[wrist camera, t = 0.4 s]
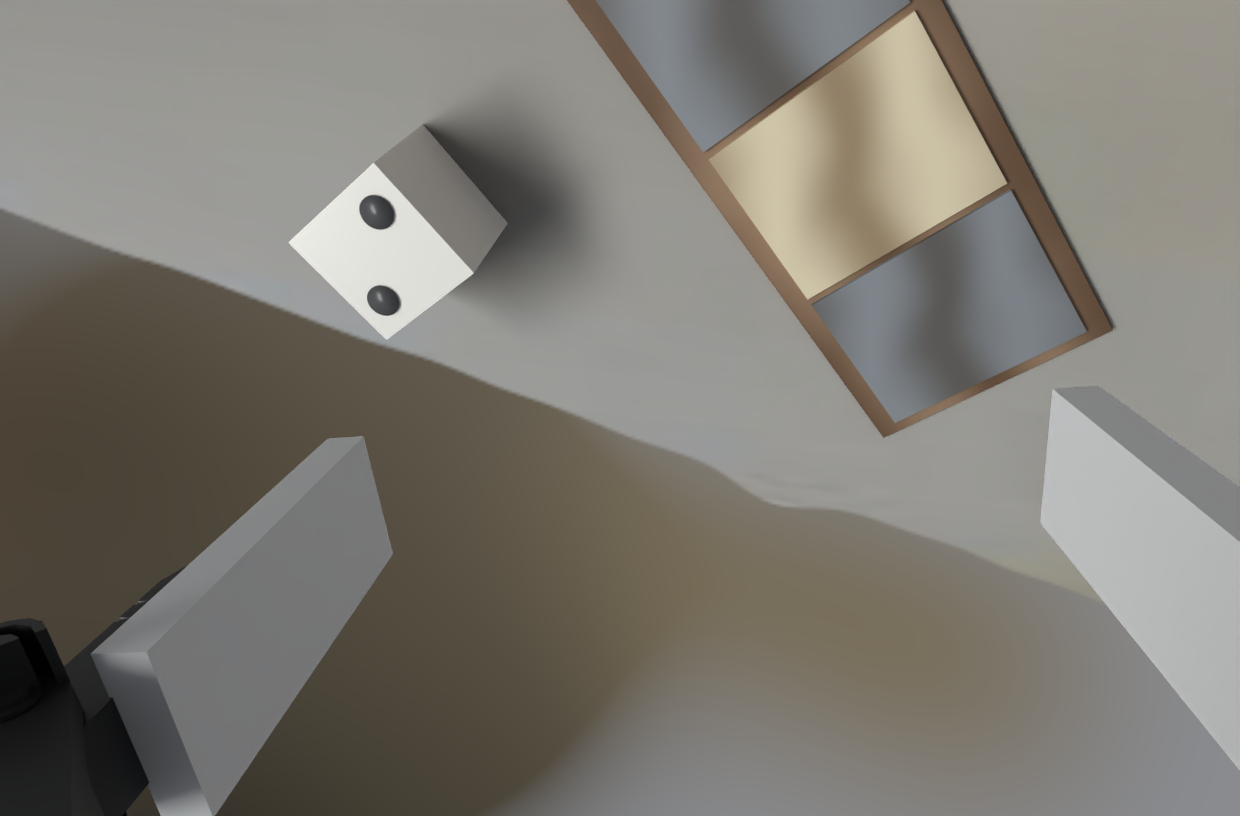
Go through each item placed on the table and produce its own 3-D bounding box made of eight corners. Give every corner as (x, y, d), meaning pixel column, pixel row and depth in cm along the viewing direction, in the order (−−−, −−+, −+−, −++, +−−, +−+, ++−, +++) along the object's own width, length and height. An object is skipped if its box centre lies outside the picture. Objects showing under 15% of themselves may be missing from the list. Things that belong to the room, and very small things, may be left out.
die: (423, 123, 37) (372, 163, 32) (508, 222, 39) (473, 274, 34) (345, 196, 39) (287, 243, 35) (428, 284, 42) (385, 340, 37)
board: (654, -551, 24) (653, -557, 24) (1111, 328, 38) (1114, 332, 37) (400, -232, 29) (396, -233, 29) (883, 435, 43) (884, 439, 43)
